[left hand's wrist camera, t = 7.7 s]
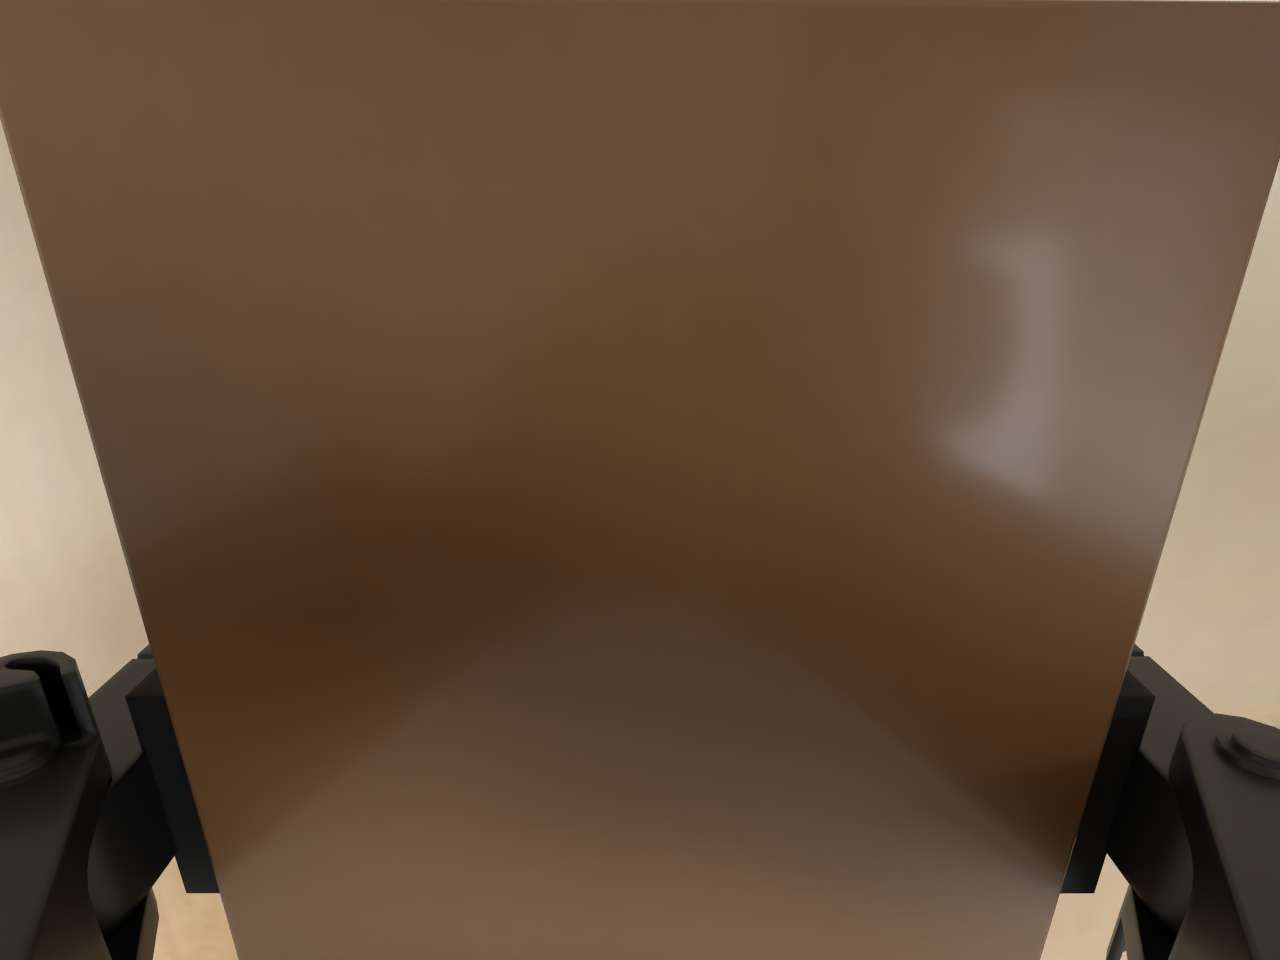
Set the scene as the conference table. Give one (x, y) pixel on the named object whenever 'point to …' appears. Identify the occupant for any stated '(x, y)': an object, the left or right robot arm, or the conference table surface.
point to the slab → (642, 440)
